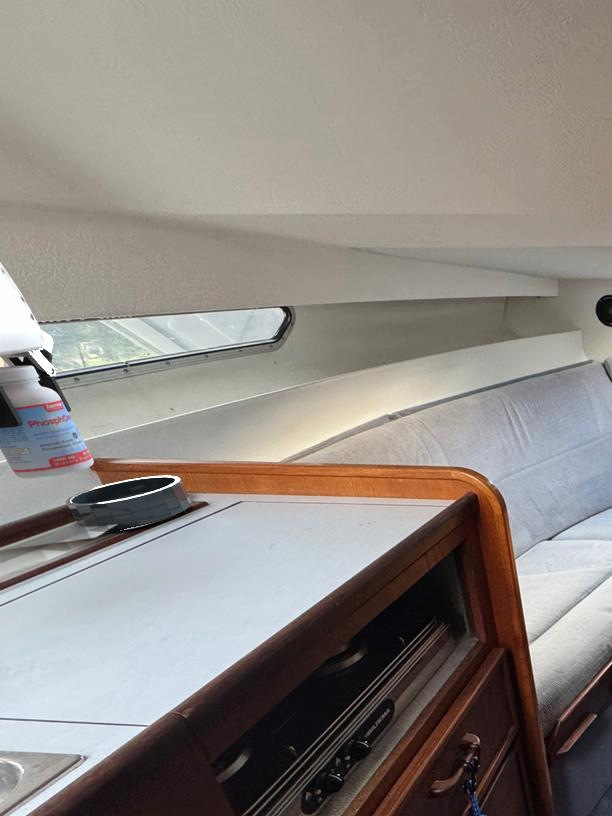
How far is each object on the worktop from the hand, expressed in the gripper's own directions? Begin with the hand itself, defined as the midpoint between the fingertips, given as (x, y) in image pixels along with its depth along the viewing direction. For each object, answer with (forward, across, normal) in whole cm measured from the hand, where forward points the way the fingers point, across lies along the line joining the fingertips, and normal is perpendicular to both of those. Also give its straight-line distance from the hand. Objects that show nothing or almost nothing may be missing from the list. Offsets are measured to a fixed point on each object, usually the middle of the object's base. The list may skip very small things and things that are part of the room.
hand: (28, 418), depth 61 cm
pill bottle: (+6, 0, 0) cm, 6 cm away
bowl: (+21, -28, -13) cm, 37 cm away
